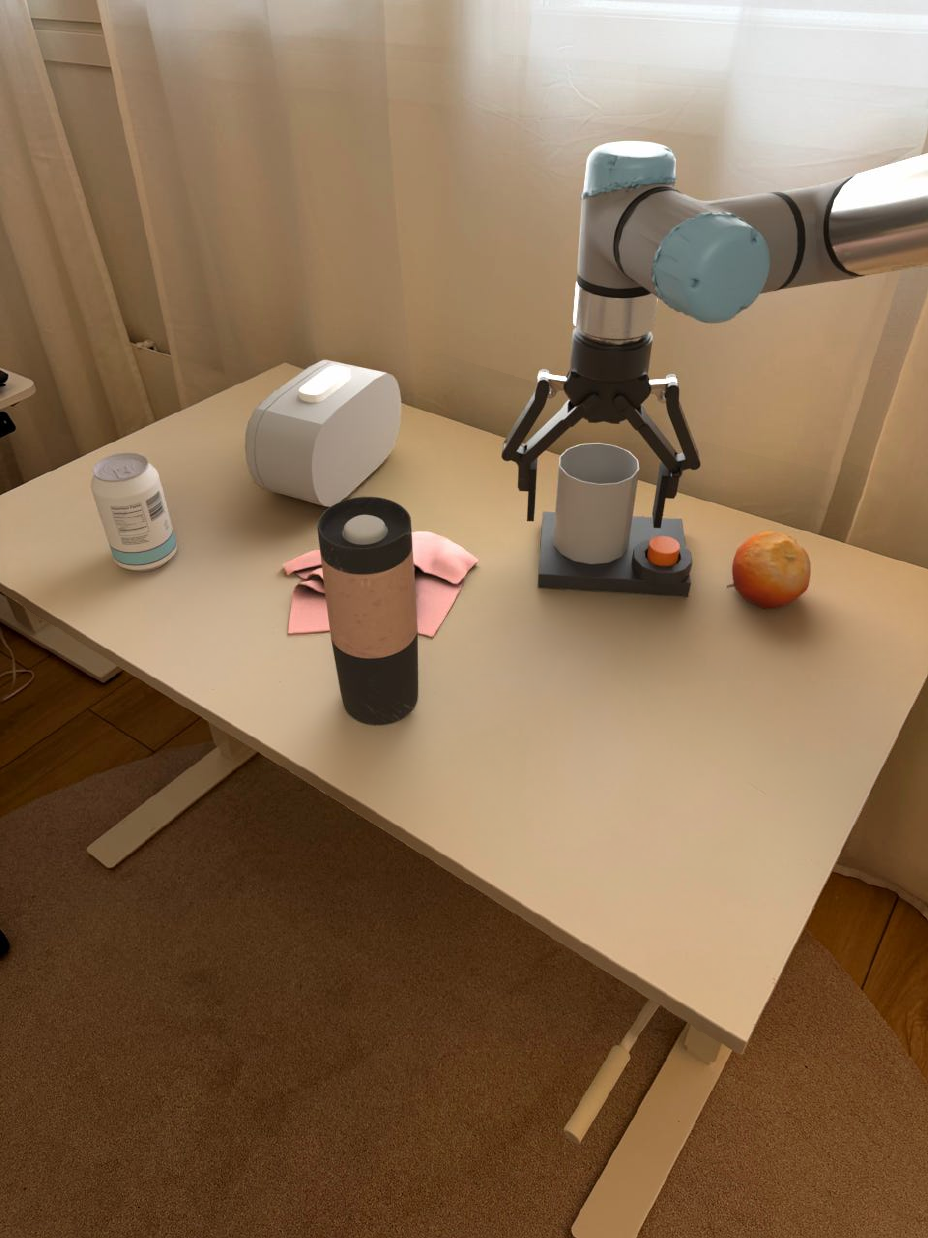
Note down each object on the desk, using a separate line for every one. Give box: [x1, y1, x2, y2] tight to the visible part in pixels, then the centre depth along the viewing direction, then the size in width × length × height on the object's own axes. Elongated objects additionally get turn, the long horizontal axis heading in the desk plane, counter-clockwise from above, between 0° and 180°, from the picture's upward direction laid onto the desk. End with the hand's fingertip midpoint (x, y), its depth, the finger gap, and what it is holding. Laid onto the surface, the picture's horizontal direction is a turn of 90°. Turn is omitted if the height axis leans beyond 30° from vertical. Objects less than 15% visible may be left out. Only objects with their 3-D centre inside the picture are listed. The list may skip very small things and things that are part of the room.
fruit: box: [726, 530, 812, 610], centre depth 93 cm, size 8×8×8 cm
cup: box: [553, 442, 640, 564], centre depth 96 cm, size 8×8×10 cm
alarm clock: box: [244, 359, 402, 508], centre depth 109 cm, size 21×10×13 cm, turn 154°
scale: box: [537, 511, 693, 598], centre depth 99 cm, size 16×13×4 cm
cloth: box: [282, 530, 480, 638], centre depth 96 cm, size 20×22×2 cm
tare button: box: [647, 536, 680, 566], centre depth 94 cm, size 3×3×2 cm
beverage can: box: [90, 452, 178, 572], centre depth 97 cm, size 7×7×12 cm
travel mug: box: [317, 496, 419, 726], centre depth 77 cm, size 8×8×20 cm
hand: (593, 518), depth 97 cm, fingers open, 13 cm apart
